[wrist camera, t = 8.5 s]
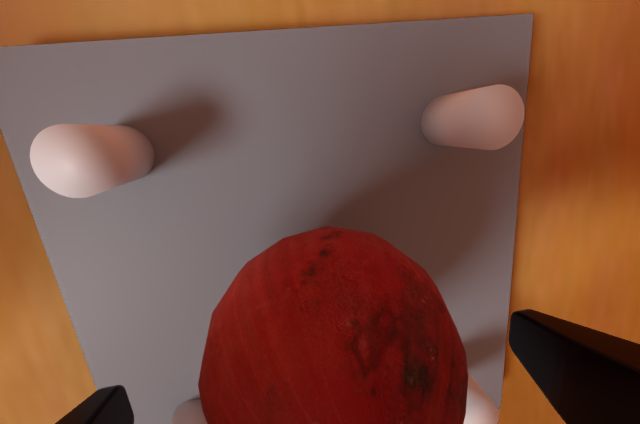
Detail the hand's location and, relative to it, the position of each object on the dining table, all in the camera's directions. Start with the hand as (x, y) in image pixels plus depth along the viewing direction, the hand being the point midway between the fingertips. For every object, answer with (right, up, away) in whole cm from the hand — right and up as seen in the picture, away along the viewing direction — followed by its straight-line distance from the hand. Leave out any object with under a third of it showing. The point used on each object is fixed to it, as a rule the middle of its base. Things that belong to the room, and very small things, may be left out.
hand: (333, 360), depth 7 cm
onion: (-1, +1, +4) cm, 4 cm away
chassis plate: (-1, +1, +5) cm, 5 cm away
